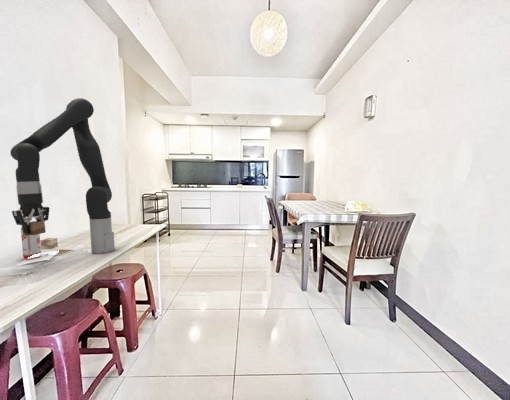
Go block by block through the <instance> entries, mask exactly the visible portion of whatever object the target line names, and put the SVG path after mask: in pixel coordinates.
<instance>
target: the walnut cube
mask: <svg viewBox="0 0 510 400" xmlns="http://www.w3.org/2000/svg"><path fill="white" fill-rule="evenodd" d="M45 222H46V221H45ZM45 222H44V221H36V220H35V221H34V220H33V221H30V229H31V234H29V235H37V234H40V235H41V234H46V225H45ZM21 228H22V232H23V226H22V225H21ZM23 235H25V234H24V233H23Z"/></svg>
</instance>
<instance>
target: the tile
mask: <svg viewBox="0 0 510 400" xmlns="http://www.w3.org/2000/svg"><path fill="white" fill-rule="evenodd" d="M58 250H59V253H58V255H60V256H62V255H65V253H66V254H69V253H71V251H72V252H74V251H75V250H74V249H60V248H59V249H57V250H55V251H58ZM68 252H69V253H68Z"/></svg>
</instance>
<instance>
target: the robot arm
mask: <svg viewBox="0 0 510 400" xmlns="http://www.w3.org/2000/svg"><path fill="white" fill-rule="evenodd" d="M94 110H95V109H94V106H93V103H91V102H90V101H89V100H88V99H85V98H83V97H82V98H81V97H79V98H75V99H73V100H71V101H70V102H68V103H67V105H66V107H65V110H64V111H63V112H62V113H60V114H59V115H58V116H56V117H55V118H53V119H52V120H50V121H48V122H47V123H46V124H44V125H42V126H41V127H40V128H38V129H37V130H36V131H34V132H33V133H31V135H29V136H28V137H25V138H24V139H23V140H21V141H20V142H18V143H17V144H15V145H14V146H12V148H11V149H10V156H11V157H12V158H13V159H14V160H15V161H17V168H16V169H15V180H16V195H17V203H18V205H19V209H17V210H12V211H11V214H12V216H13V219H14V222H15V224H16V226H17V225H18V226H21V227H22V226H23V233H24V234H25V235H29V234H31V229H30V222H32V220H33V219H35V221H44V222H46V221H49V215H50V207H49V206H43V205H42V204H43V202H44V198H43V191H42V184H41V182H40V181H41V180H40V173H39V169H40V161H41V159H40V158H41V157H40V156H41V155H40V152H42V151H43V150H45V149H47V148H49V147H50V146H52V145H53V144H54V143H56V141H58V140H59V139H60V138H61V137H63V136H64V135H65V134H66V133H67V132H68V131H69V130H70V129H72V131H73V135H74V141H75V144H76V149H77V153H78V157H79V160H80V163H81V165H82V167H83V168H84V170H85V172H86V173H87V175H88V178H90V182H91V183H90V184H91V187H89V188H88V189H87V191H86V193H85V204H86V212H87V214H88V217H89V233H90V234H89V235H90V249H91V250H90V251H91V254H94V255H95V254H99V255H100V254H107V253H110V252H113V251H115V250H116V249H115V248H116V247H115V246H116V244H115V232H114V231H112V230H113V228H112V212H111V211H110V210H109V207H108V203H109V202H110V201H111V199H112V198H113V197H112V196H113V193H112V190H111V187H110V185H109V182H108V179H107V175H106V171H105V166H104V161H103V157H102V153H101V149H100V145H99V144H98V142H97V140H96V139H95V137H94V135H93V134H92V132H91V129H90V124H89V119H90V118H91V117H92V116H93V114H94Z"/></svg>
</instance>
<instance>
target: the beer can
mask: <svg viewBox="0 0 510 400" xmlns="http://www.w3.org/2000/svg"><path fill="white" fill-rule="evenodd" d="M20 234H21V235H20V236H21V246H22V248H21V249H22V258H23V259H25V260H28V259H27V258H28V257H30V256H32V255H34V254H38V253H41V254H42V249H41V243H40V240H41V238H40V236H41V234H37V235H23V232H22V227H20Z"/></svg>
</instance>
